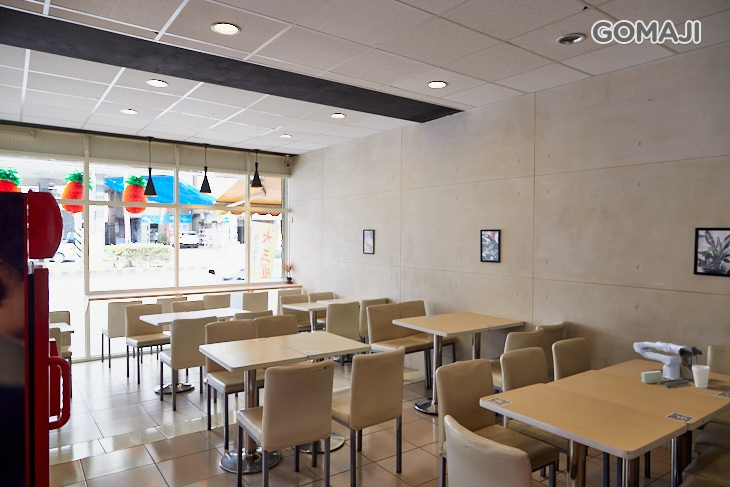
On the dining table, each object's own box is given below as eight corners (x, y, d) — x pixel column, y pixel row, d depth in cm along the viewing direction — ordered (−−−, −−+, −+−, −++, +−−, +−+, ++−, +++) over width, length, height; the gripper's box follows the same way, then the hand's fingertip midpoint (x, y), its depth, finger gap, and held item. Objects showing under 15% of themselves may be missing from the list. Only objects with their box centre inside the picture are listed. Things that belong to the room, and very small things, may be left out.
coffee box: (698, 378, 320) (697, 355, 320) (693, 380, 317) (692, 356, 318) (684, 375, 328) (683, 352, 329) (679, 376, 326) (678, 353, 326)
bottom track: (656, 384, 310) (656, 380, 310) (678, 381, 314) (678, 378, 314) (668, 388, 301) (668, 384, 301) (690, 385, 305) (690, 381, 305)
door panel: (641, 382, 314) (641, 372, 315) (658, 380, 318) (658, 370, 318) (644, 383, 312) (644, 373, 312) (661, 381, 315) (661, 371, 315)
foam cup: (710, 389, 295) (709, 369, 296) (692, 387, 301) (691, 367, 301) (710, 385, 303) (709, 366, 303) (693, 383, 309) (692, 364, 309)
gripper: (669, 344, 316) (686, 348, 302) (687, 343, 318) (705, 346, 305) (670, 355, 315) (687, 359, 302) (688, 353, 318) (706, 357, 305)
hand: (696, 353), depth 303 cm, fingers open, 7 cm apart
